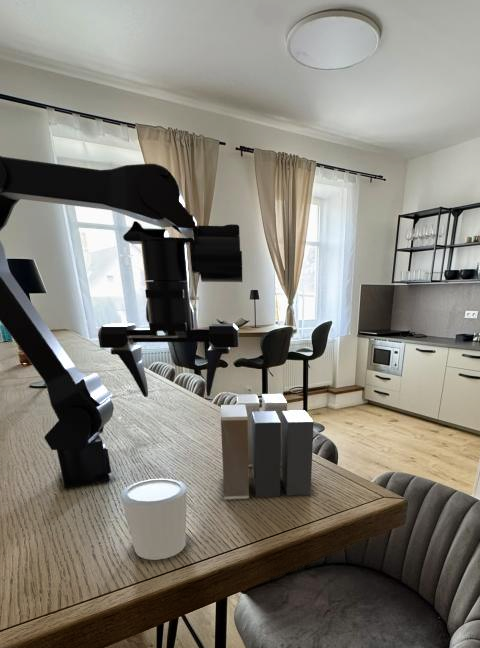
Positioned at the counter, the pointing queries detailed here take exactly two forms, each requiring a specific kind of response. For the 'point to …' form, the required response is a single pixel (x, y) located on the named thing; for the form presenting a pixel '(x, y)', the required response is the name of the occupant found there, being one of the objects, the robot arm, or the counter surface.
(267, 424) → the tall grey rectangular block
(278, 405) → the white book
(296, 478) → the grey book
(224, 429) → the tall cream square pillar
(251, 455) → the grey tall rectangular block
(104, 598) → the counter surface
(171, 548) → the white cup
